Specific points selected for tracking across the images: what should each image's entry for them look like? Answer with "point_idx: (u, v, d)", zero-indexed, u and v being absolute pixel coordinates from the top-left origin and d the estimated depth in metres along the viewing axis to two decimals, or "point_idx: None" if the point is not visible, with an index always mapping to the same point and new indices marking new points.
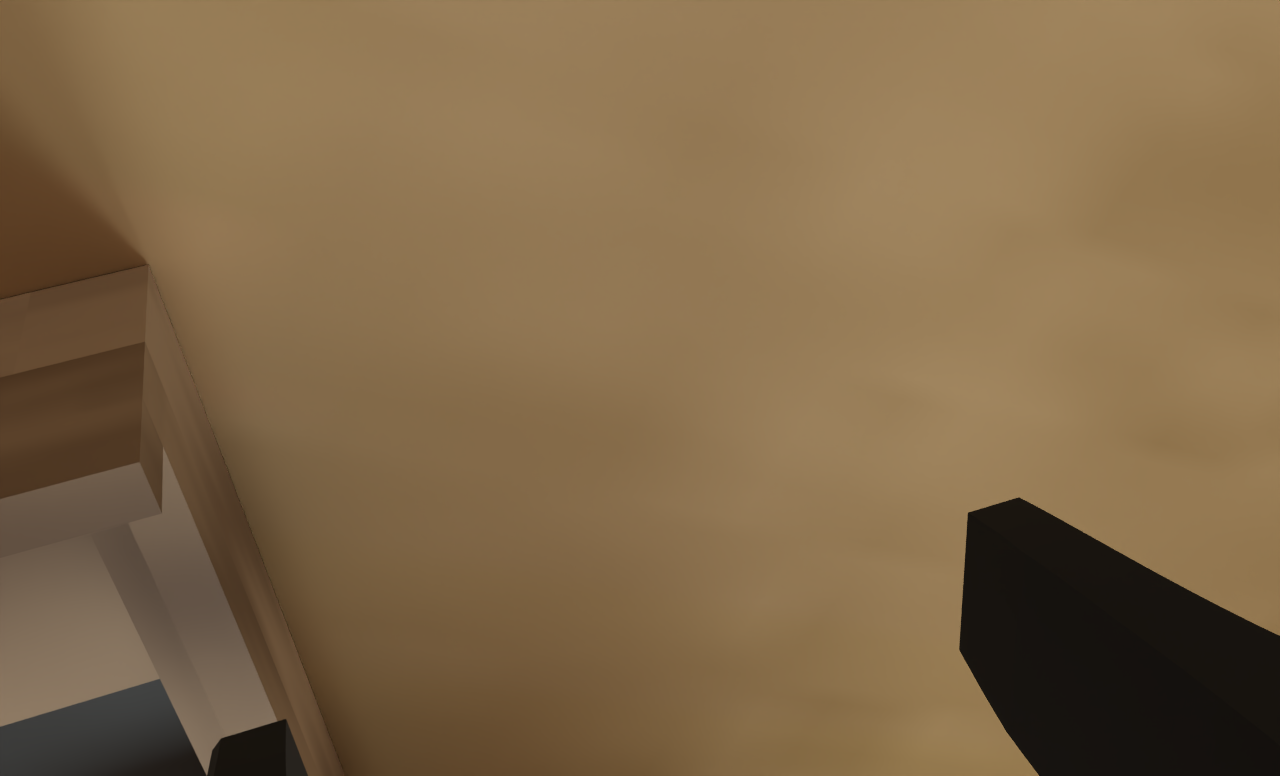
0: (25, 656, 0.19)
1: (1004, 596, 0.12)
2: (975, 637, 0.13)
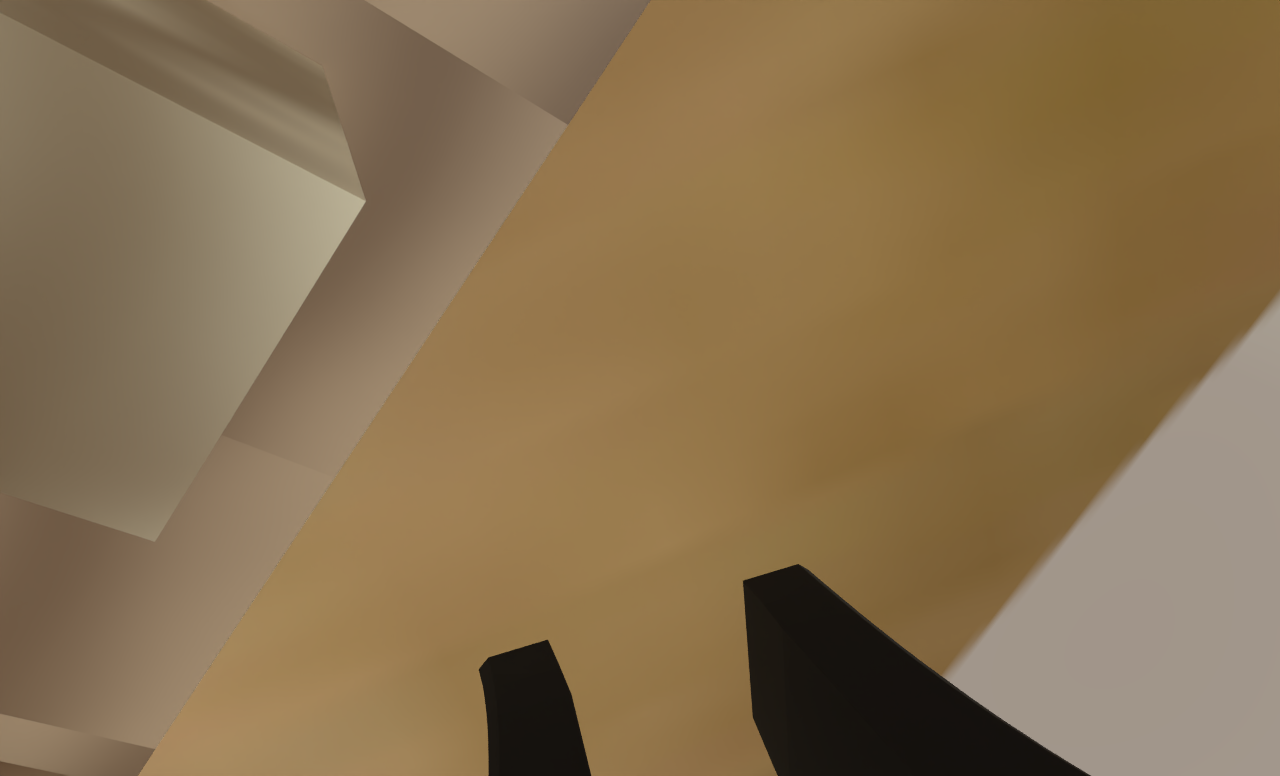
0: None
1: (774, 669, 0.12)
2: (761, 707, 0.13)
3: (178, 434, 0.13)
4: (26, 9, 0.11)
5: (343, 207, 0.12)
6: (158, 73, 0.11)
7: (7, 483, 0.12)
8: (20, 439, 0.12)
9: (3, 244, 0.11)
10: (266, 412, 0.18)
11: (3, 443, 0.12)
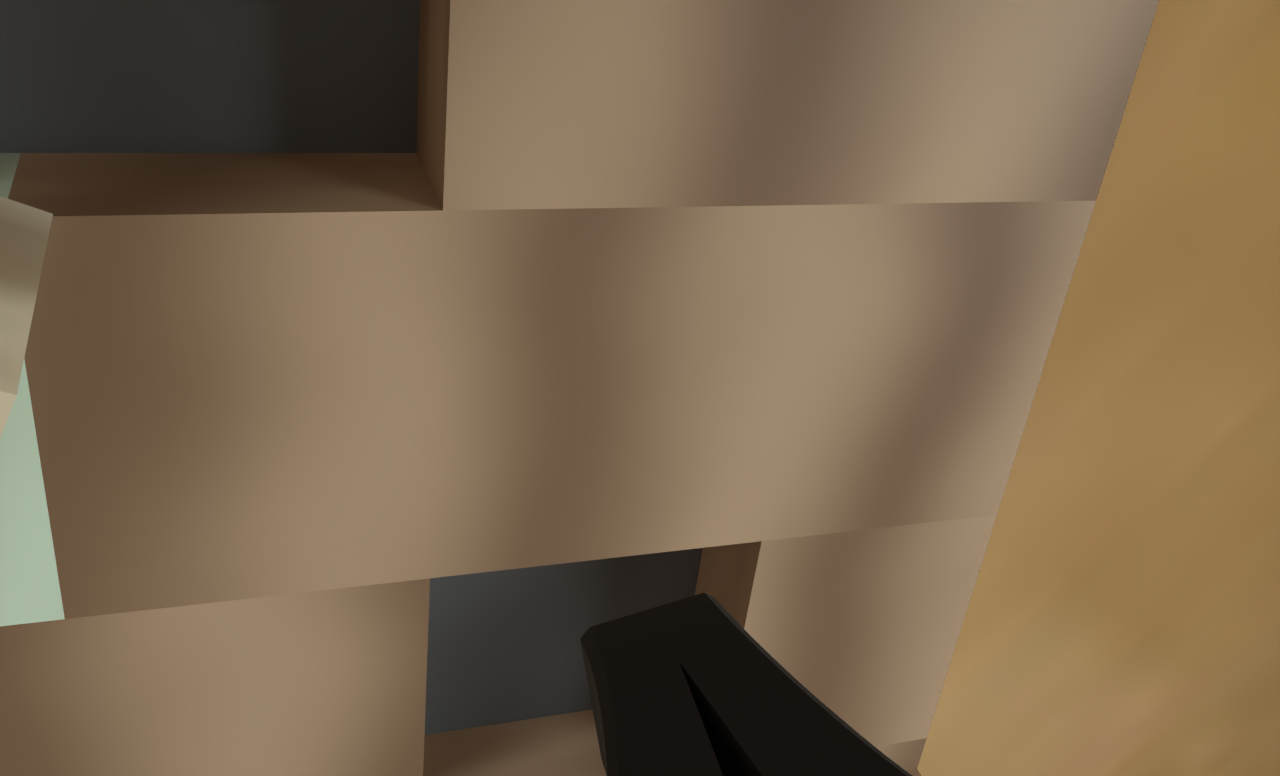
0: None
1: None
2: None
3: None
4: None
5: None
6: None
7: None
8: None
9: None
10: (939, 495, 0.23)
11: None
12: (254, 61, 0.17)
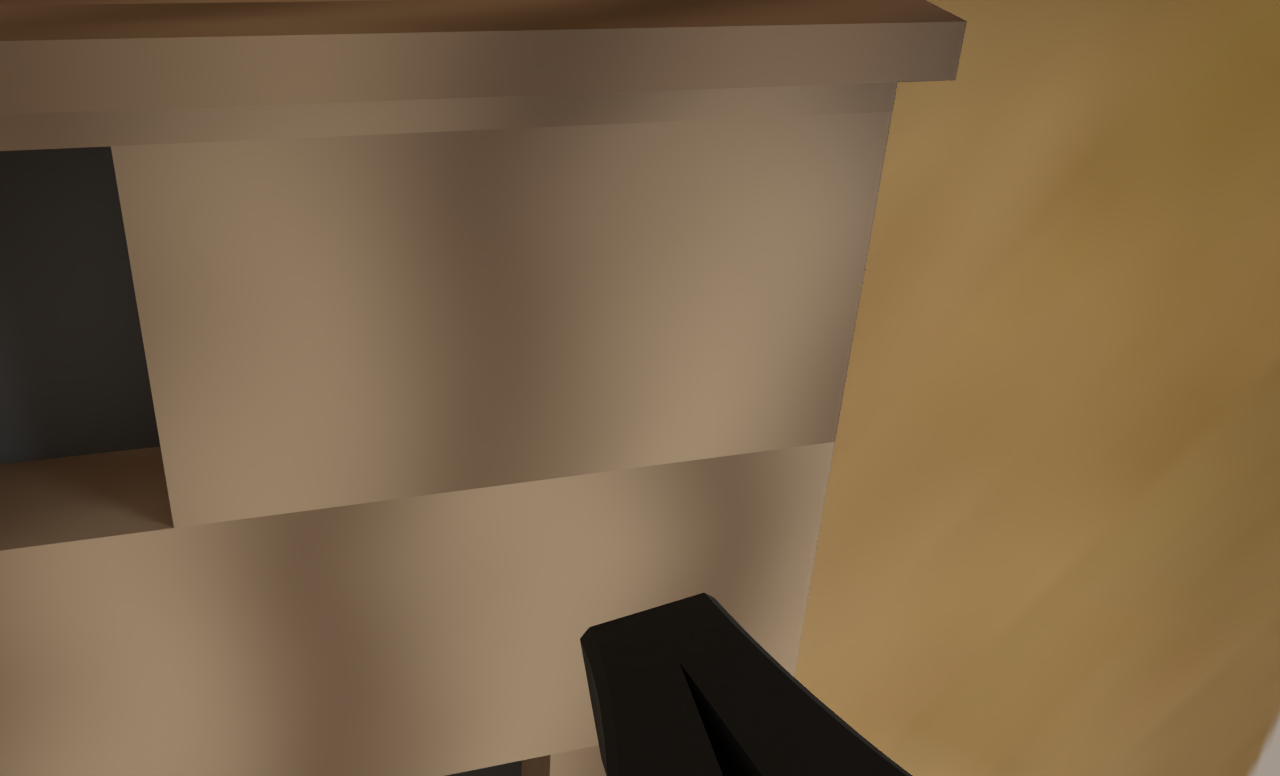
0: None
1: None
2: None
3: None
4: None
5: None
6: None
7: None
8: None
9: None
10: None
11: None
12: (2, 389, 0.19)
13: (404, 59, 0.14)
